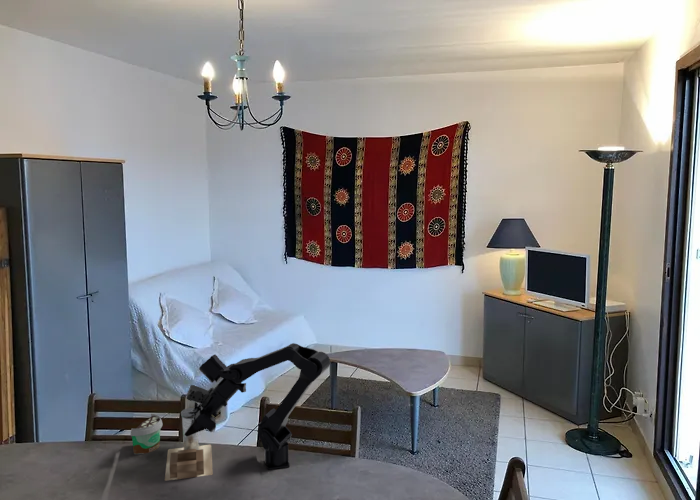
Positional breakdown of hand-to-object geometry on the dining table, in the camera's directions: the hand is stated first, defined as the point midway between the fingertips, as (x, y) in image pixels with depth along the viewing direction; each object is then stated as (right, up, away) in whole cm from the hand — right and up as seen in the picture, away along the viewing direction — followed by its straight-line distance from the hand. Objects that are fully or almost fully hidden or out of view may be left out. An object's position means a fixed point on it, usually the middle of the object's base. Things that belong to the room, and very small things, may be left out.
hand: (185, 432), depth 171 cm
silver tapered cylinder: (+1, -7, +1) cm, 7 cm away
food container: (-12, -8, +6) cm, 16 cm away
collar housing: (+2, -9, -3) cm, 10 cm away
